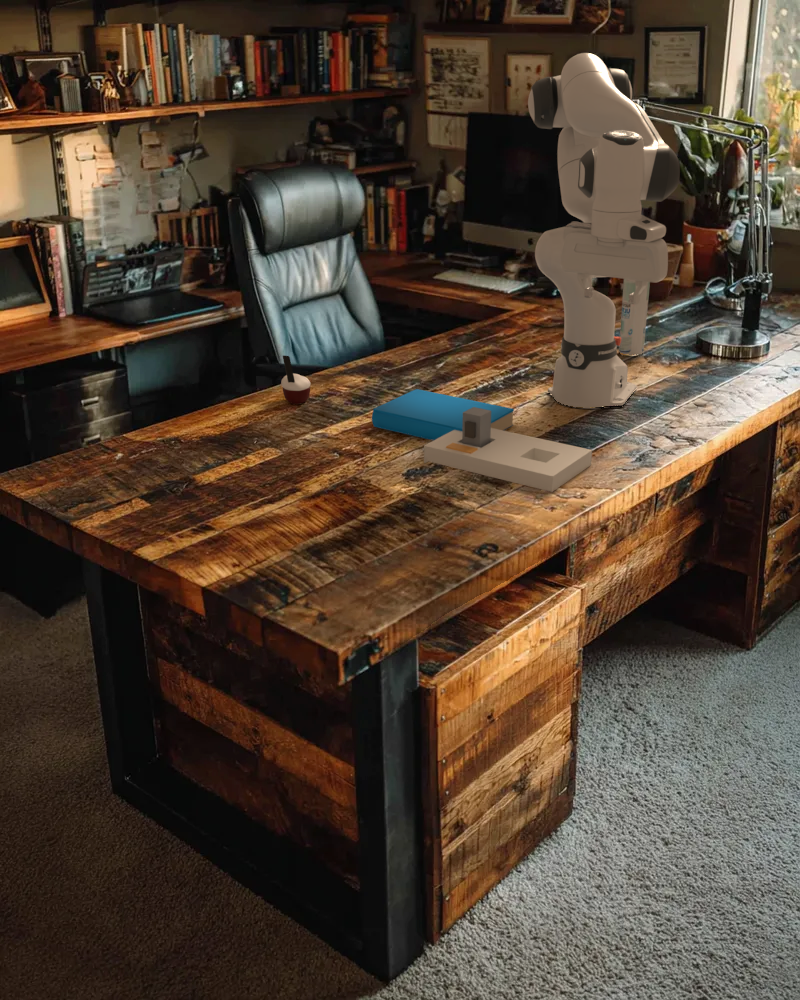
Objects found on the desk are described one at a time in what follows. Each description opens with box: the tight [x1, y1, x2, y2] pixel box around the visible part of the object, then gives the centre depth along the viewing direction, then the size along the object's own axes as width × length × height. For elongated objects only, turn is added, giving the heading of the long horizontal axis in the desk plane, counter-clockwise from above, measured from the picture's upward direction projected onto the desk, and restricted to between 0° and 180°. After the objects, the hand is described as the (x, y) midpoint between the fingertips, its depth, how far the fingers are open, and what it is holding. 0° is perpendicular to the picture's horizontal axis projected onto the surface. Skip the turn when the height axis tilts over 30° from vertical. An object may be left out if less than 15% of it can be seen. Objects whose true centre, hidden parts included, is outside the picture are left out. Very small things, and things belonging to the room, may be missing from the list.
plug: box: [462, 407, 491, 448], centre depth 212 cm, size 5×4×9 cm
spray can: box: [618, 279, 651, 355], centre depth 279 cm, size 6×6×20 cm
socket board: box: [423, 428, 593, 493], centre depth 210 cm, size 16×28×4 cm, turn 55°
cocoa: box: [280, 354, 312, 405], centre depth 246 cm, size 10×6×12 cm, turn 140°
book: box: [371, 388, 515, 441], centre depth 230 cm, size 17×4×25 cm
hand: (610, 300), depth 204 cm, fingers open, 8 cm apart
